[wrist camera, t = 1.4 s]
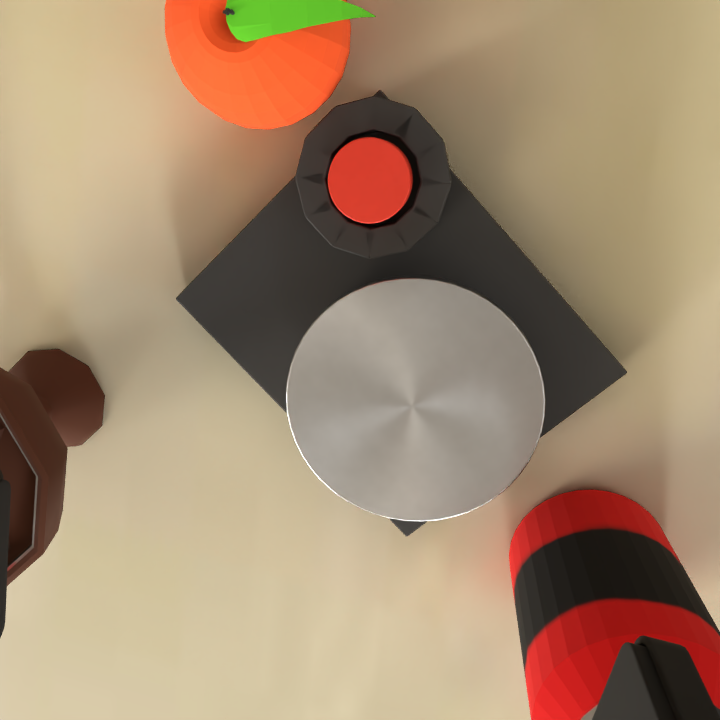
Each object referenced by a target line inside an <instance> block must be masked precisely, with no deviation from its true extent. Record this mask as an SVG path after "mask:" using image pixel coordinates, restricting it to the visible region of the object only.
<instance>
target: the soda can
mask: <svg viewBox="0 0 720 720" xmlns="http://www.w3.org/2000/svg"><path fill="white" fill-rule="evenodd" d="M509 561H510V571H511V578H512V585H513V593H514V600H515V607H516V614H517V621H518V628H519V635H520V643H521V650H522V657H523V664H524V671H525V678H526V685H527V693H528V700H529V707H530V714H531V720H592V718H593V716H594V713H595V711H596V708H597V706H598V703H599V701H600V698H601V696H602V693H603V691H604V688H605V686H606V683H607V681H608V678H609V676H610V673H611V671H612V668H613V666H614V663H615V661H616V658H617V656H618V653H619V651H620V649H621V647H622V645H623V644H624V643H626V642H629V643H633V644H634V643H635V641H636V639H637V638H638V637H639V636H643V635H644V636H648V637H652V638H656V639H660V640H664V641H668V642H671V643H675V644H679V645H682V646H684V647H685V648H686V649H687V651H688V652H689V654H690V656H691V658H692V660H693V662H694V664H695V666H696V668H697V670H698V672H699V675H700V677H701V679H702V681H703V683H704V685H705V687H706V689H707V691H708V693H709V695H710V697H711V700H712V702H713V704H714V706H715V708H716V710H717V712H718V714H719V716H720V632H719V630H718V628H717V626H716V624H715V623H714V621H713V619H712V617H711V616H710V614H709V612H708V610H707V609H706V607H705V605H704V603H703V601H702V600H701V598H700V596H699V594H698V593H697V591H696V589H695V587H694V586H693V584H692V582H691V580H690V579H689V577H688V575H687V573H686V571H685V570H684V568H683V566H682V564H681V563H680V561H679V559H678V557H677V556H676V554H675V552H674V550H673V548H672V547H671V545H670V543H669V541H668V540H667V538H666V536H665V534H664V533H663V531H662V529H661V527H660V525H659V524H658V522H657V521H656V520H655V519H654V518H653V516H652V515H651V514H650V513H649V512H648V511H647V510H645V509H644V508H643V507H642V506H640V505H639V504H638V503H636V502H634V501H632V500H630V499H628V498H626V497H625V496H622V495H619V494H615V493H612V492H609V491H601V490H576V491H571V492H567V493H563V494H559V495H557V496H555V497H552V498H550V499H548V500H546V501H544V502H543V503H541V504H540V505H538V506H536V507H535V508H534V509H533V510H532V511H531V512H530V513H529V514H527V515H526V516H525V517H524V519H523V520H522V521H521V523H520V524H519V526H518V527H517V529H516V531H515V533H514V536H513V538H512V541H511V546H510V552H509Z"/></svg>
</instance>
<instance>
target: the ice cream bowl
mask: <svg viewBox="0 0 720 720" xmlns="http://www.w3.org/2000/svg"><path fill="white" fill-rule="evenodd" d="M104 399H105V395H104V393H103V392H102V390H101V388H100V386H99V384H98V383H97V381H96V379H95V377H94V375H93V374H92V372H91V370H90V368H89V366H87V365H86V364H84V363H82V362H80V361H79V360H77V359H75V358H74V357H72V356H70V355H68V354H67V353H65V352H63V351H62V350H60V349H51V350H38V351H28V352H27V353H26V354H25V355H24V356H23V357H22V358H21V359H20V360H19V361H18V362H17V363H16V364H15V365H14V367H13V368H12V369H11V370H10V371H9V372H7V371H5V370H3V369H2V368H0V470H1V472H2V474H3V479H4V480H7V481H8V482H9V483H10V486H11V500H10V523H9V545H8V567H7V585H9V584H10V583H11V582H12V581H13V580H14V579H15V578H17V577H18V576H19V575H20V574H21V573H22V572H23V571H24V570H26V569H27V568H28V567H29V566H30V565H31V564H32V563H33V562H35V561H36V560H37V559H38V558H39V557H40V556H41V555H42V554H44V552H45V550H46V549H47V547H48V546H49V544H50V542H51V541H52V539H53V538H54V536H55V534H56V533H57V531H58V528H59V524H60V519H61V515H62V511H63V500H64V487H65V474H66V461H67V447H69V446H78V445H82V444H83V443H84V442H85V441H86V440H87V439H88V438H89V437H91V436H92V435H93V434H94V433H95V432H96V431H97V430H98V429H99V428H100V427H101V426H102V420H103V409H104Z"/></svg>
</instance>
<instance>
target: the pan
mask: <svg viewBox="0 0 720 720" xmlns="http://www.w3.org/2000/svg"><path fill="white" fill-rule="evenodd" d="M286 405H287V414H288V419H289V424H290V428H291V431H292V434H293V437H294V440H295V442H296V444H297V446H298V448H299V450H300V452H301V454H302V456H303V458H304V459H305V461H306V462H307V464H308V465H309V467H310V468H311V470H312V471H313V472H314V473H315V474H316V475H317V477H318V478H319V479H320V480H321V481H322V482H323V483H324V484H325V485H326V486H327V487H329V488H330V489H331V490H332V491H333V492H334V493H336V494H337V495H339V496H340V497H341V498H343V499H344V500H346V501H347V502H349V503H351V504H353V505H355V506H357V507H358V508H360V509H363V510H365V511H368V512H370V513H373V514H376V515H379V516H383V517H387V518H390V519H397V520H403V521H434V520H441V519H446V518H451V517H455V516H458V515H461V514H464V513H467V512H470V511H472V510H474V509H476V508H478V507H480V506H483V505H484V504H486V503H487V502H489V501H491V500H492V499H494V498H495V497H497V496H498V495H499V494H500V493H502V492H503V491H504V490H505V489H506V488H508V487H509V486H510V485H511V484H512V483H513V481H514V480H515V479H516V478H517V477H518V476H519V475H520V474H521V472H522V471H523V469H524V468H525V467H526V465H527V464H528V462H529V461H530V459H531V457H532V455H533V453H534V451H535V449H536V447H537V444H538V441H539V438H540V435H541V432H542V427H543V422H544V417H545V390H544V382H543V378H542V374H541V370H540V366H539V364H538V361H537V359H536V356H535V354H534V351H533V349H532V347H531V345H530V343H529V342H528V340H527V338H526V336H525V335H524V333H523V332H522V330H521V329H520V328H519V326H518V325H517V324H516V322H515V321H514V320H513V319H512V318H511V317H510V316H509V315H508V314H507V313H506V312H505V311H504V310H503V309H502V308H501V307H500V306H498V305H497V304H496V303H494V302H493V301H492V300H490V299H489V298H488V297H486V296H485V295H483V294H481V293H479V292H477V291H476V290H474V289H472V288H470V287H467V286H465V285H462V284H460V283H457V282H454V281H450V280H446V279H442V278H438V277H431V276H422V275H404V276H396V277H389V278H384V279H380V280H377V281H373V282H370V283H367V284H365V285H362V286H360V287H358V288H356V289H353V290H352V291H350V292H348V293H347V294H345V295H343V296H342V297H340V298H339V299H337V300H336V301H335V302H334V303H332V304H331V305H330V306H329V307H327V308H326V309H325V310H324V311H323V312H322V313H321V314H320V315H319V317H318V318H317V319H316V320H315V321H314V322H313V323H312V325H311V326H310V327H309V329H308V330H307V332H306V333H305V334H304V336H303V337H302V339H301V341H300V343H299V345H298V347H297V349H296V351H295V353H294V356H293V359H292V362H291V365H290V369H289V374H288V378H287V388H286Z"/></svg>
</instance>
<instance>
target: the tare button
mask: <svg viewBox="0 0 720 720" xmlns="http://www.w3.org/2000/svg"><path fill="white" fill-rule="evenodd" d="M412 184H413V174H412V169H411V165H410V163H409V160H408V159H407V157H406V155H405V154H404V153H403V152H402V151H401V150H400V149H399V148H398V147H397V146H396V145H394V144H393V143H391V142H389V141H386V140H383V139H380V138H375V137H364V138H359V139H356V140H353V141H351V142H349V143H348V144H346V145H345V146H344V147H342V148H341V149H340V150H339V151H338V153H337V154H336V155H335V157H334V158H333V161H332V163H331V165H330V168H329V173H328V188H329V192H330V196H331V198H332V200H333V202H334V204H335V205H336V207H337V208H338V209H339V210H340V211H341V212H342V213H343V214H344V215H345V216H347V217H348V218H350V219H352V220H354V221H357V222H360V223H367V224H369V223H378V222H382V221H384V220H387V219H389V218H390V217H392V216H393V215H395V214H396V213H397V212H398V211H399V210H400V209H401V208H402V207H403V206H404V205H405V203H406V202H407V200H408V198H409V196H410V193H411V190H412Z"/></svg>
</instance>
